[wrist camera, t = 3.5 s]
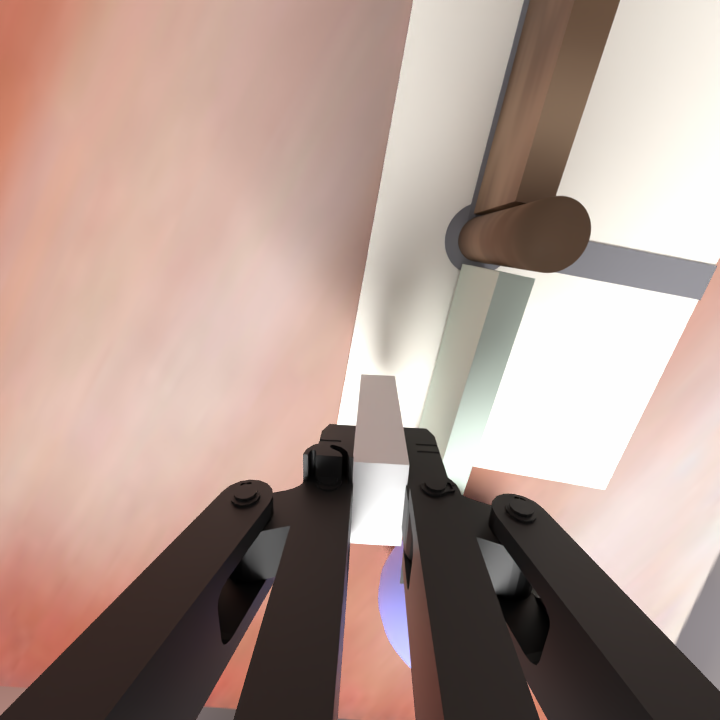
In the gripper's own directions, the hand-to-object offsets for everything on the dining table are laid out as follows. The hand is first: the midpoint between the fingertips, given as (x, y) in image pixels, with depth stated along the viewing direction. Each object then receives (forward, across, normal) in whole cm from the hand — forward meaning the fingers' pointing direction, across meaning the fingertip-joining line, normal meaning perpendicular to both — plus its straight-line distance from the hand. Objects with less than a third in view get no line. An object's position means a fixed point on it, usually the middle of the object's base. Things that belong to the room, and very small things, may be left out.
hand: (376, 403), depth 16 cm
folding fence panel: (+3, +4, +1) cm, 4 cm away
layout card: (+4, +8, +8) cm, 11 cm away
